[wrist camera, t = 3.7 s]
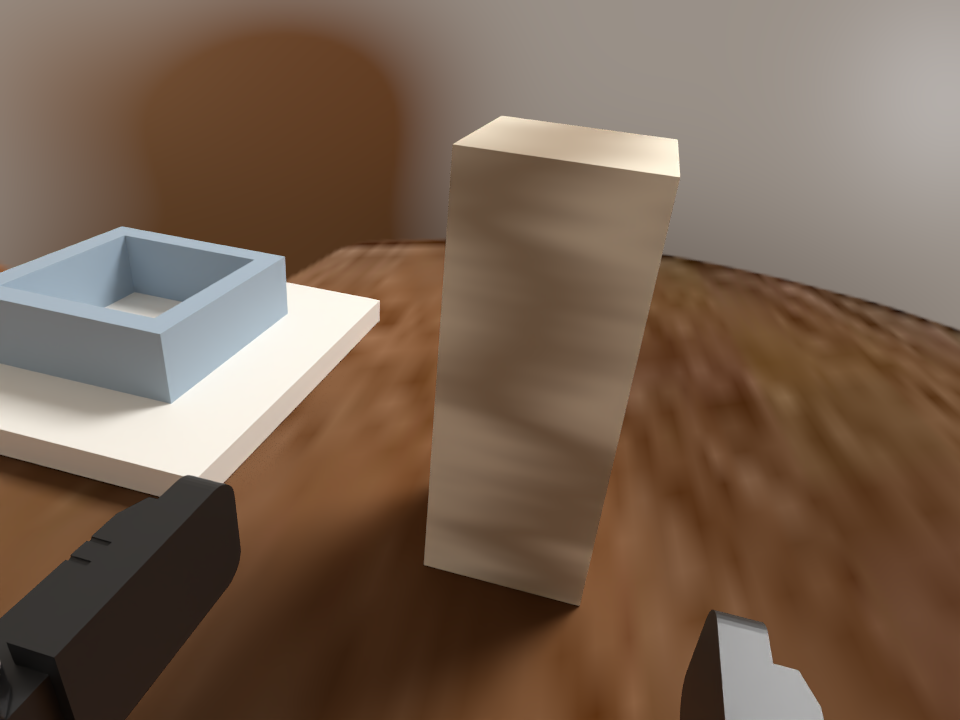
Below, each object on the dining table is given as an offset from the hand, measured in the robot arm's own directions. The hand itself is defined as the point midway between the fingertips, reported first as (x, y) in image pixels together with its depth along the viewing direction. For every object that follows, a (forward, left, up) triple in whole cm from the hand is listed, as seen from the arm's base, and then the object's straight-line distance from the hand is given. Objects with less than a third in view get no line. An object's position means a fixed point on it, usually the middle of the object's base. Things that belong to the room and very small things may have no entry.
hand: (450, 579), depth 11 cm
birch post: (-6, -8, -8) cm, 12 cm away
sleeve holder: (+6, -23, -8) cm, 25 cm away
